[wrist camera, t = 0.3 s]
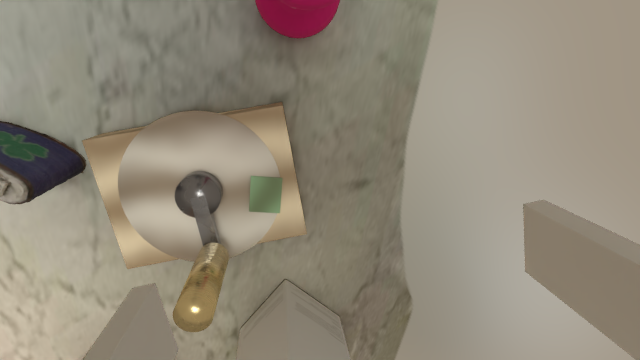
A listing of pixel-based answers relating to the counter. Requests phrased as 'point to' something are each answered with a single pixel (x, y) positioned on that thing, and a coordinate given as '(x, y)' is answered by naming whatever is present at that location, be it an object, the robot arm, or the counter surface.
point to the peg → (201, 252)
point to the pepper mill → (297, 15)
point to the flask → (33, 163)
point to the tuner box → (189, 156)
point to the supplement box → (292, 329)
